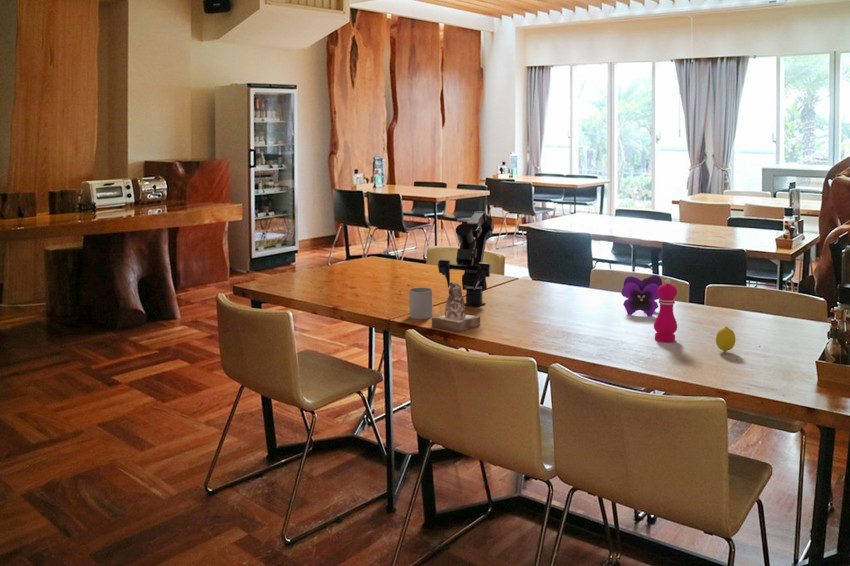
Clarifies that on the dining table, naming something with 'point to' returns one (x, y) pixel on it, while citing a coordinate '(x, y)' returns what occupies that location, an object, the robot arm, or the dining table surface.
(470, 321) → the plinth
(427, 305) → the cup
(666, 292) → the pepper mill
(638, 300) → the flower
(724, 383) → the dining table surface
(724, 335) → the lemon
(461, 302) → the figurine
